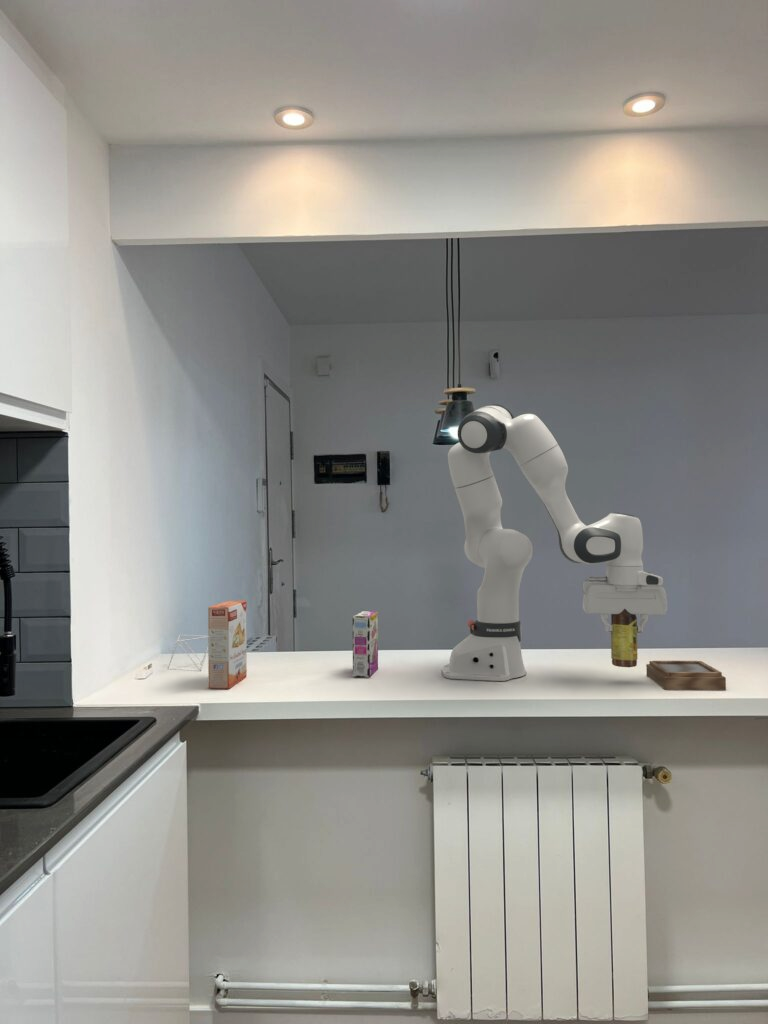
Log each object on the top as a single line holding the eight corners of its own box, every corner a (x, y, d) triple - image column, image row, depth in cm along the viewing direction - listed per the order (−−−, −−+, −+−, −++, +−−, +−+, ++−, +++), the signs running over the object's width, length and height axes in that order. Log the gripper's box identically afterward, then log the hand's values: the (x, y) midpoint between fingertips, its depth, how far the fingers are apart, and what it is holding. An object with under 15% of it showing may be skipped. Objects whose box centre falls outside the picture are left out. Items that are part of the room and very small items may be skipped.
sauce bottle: (639, 668, 170) (639, 588, 170) (613, 667, 171) (612, 587, 171) (635, 663, 176) (634, 585, 176) (609, 662, 177) (609, 585, 178)
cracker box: (230, 689, 173) (229, 606, 173) (207, 689, 174) (206, 606, 174) (248, 676, 187) (247, 599, 187) (227, 676, 188) (226, 599, 188)
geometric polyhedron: (217, 668, 199) (217, 636, 199) (182, 674, 191) (182, 641, 191) (197, 662, 208) (196, 632, 208) (162, 668, 200) (162, 636, 200)
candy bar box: (370, 678, 182) (369, 616, 183) (352, 677, 183) (351, 616, 184) (379, 669, 193) (378, 610, 193) (362, 668, 194) (361, 610, 195)
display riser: (665, 690, 165) (665, 673, 165) (646, 675, 180) (646, 660, 180) (725, 690, 164) (725, 673, 164) (701, 675, 179) (701, 660, 179)
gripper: (585, 577, 171) (585, 633, 171) (669, 578, 170) (669, 634, 170) (579, 575, 177) (579, 629, 177) (661, 576, 176) (661, 630, 176)
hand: (624, 632), depth 173 cm, fingers closed on sauce bottle, 6 cm apart
